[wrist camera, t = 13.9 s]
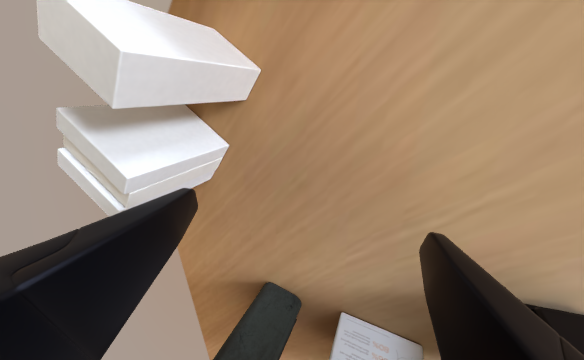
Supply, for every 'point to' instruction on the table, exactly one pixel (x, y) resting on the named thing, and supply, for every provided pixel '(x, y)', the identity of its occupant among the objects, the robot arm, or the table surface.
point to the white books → (136, 152)
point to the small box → (370, 343)
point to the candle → (263, 326)
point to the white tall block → (144, 54)
